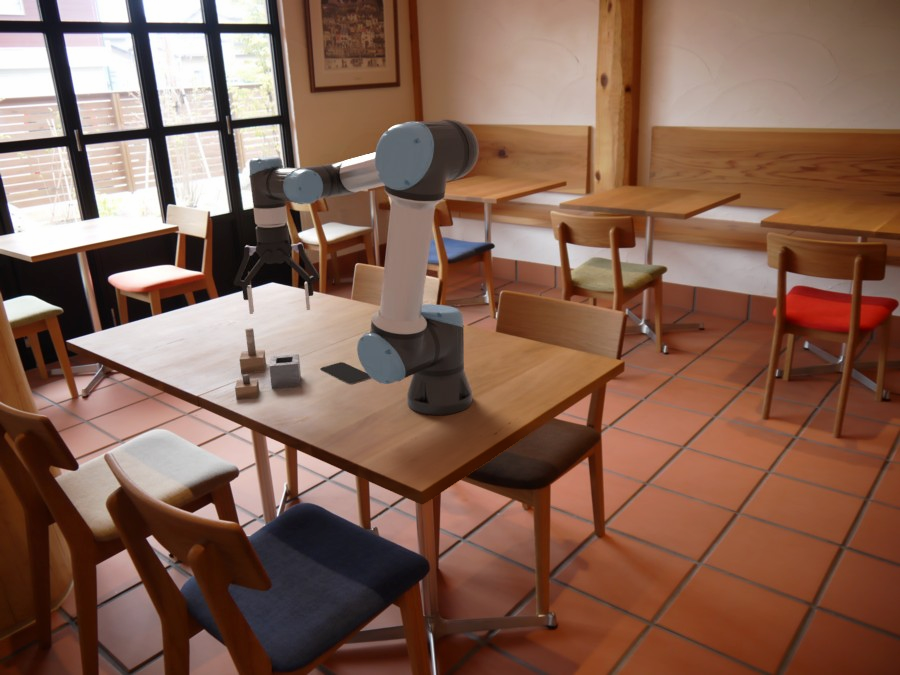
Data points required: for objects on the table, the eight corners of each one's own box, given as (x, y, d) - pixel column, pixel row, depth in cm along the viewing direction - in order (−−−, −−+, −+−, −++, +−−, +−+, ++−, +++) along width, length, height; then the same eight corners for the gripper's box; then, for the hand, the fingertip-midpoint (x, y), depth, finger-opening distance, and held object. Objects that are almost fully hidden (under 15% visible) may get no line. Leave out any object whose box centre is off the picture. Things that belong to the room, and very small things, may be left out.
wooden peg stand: (264, 371, 195) (260, 331, 192) (241, 373, 194) (236, 333, 191) (266, 363, 201) (261, 325, 197) (243, 365, 200) (238, 326, 197)
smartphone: (342, 361, 201) (373, 376, 190) (342, 363, 201) (373, 378, 190) (318, 368, 196) (349, 383, 185) (318, 370, 196) (349, 386, 185)
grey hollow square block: (300, 386, 185) (298, 363, 183) (271, 388, 184) (269, 366, 182) (300, 376, 192) (298, 354, 190) (273, 378, 191) (270, 356, 189)
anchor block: (257, 397, 179) (255, 378, 177) (236, 399, 178) (234, 380, 177) (259, 389, 184) (257, 370, 182) (238, 391, 183) (236, 372, 181)
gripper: (325, 219, 181) (331, 303, 188) (219, 224, 177) (229, 309, 184) (325, 224, 174) (331, 311, 181) (215, 229, 170) (226, 318, 177)
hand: (280, 310), depth 182 cm, fingers open, 13 cm apart
